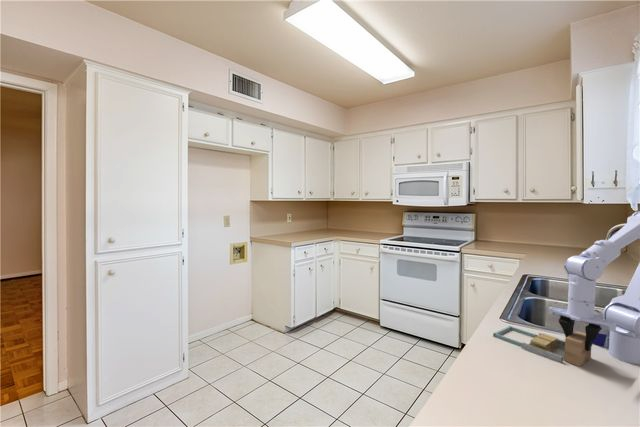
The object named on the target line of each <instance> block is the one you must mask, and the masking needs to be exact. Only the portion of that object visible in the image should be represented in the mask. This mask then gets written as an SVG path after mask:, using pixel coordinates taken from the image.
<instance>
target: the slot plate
mask: <svg viewBox="0 0 640 427" xmlns="http://www.w3.org/2000/svg"><path fill="white" fill-rule="evenodd" d="M541 334H542V333H541V332H540V333H538V336H539V335H541ZM521 343H522V345H521V346H520V347H521V349H523V350H526V351H528V352H530V353H533V354H536V355H538V356H542V357H544V358H547V359H549V360H551V361H555V362H558V363H560V364H562V363H563V362H565V361H564V357H565V340H563V339H560V338H558V344H557V347H555V348H554V349H551V351H546V350H543V349H541V348H538V347H535V346H532V345H530V342H529V343H526V342H521Z"/></svg>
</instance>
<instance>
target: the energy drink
mask: <svg viewBox="0 0 640 427" xmlns="http://www.w3.org/2000/svg"><path fill="white" fill-rule="evenodd" d="M603 310H604V308H601V307H595V308H594V316H596V317H599V318H602V319H603ZM609 337H610V330H609V329H605V328H602V329H601V330H600V332H599V333H598V334H597V336H596V338H595V339H594V341H593V344H592V345H594V346H597V347H602V348H609Z"/></svg>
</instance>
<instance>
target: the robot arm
mask: <svg viewBox="0 0 640 427" xmlns="http://www.w3.org/2000/svg"><path fill="white" fill-rule="evenodd" d="M638 239H639V240H640V210H639V211H635V212H634V213H632V215H630V216H627V219H626V224H625V225H623V227H621V228H619V230H618V231H617V232H615V233H614V234H613V235H612V236H611V237H609V239H607V240H606V239H600V240H596V241H595V242H593V243H594V244H593V245H591V246H590V247H588V248H587V249H586V250H584V251H582V252H581V253H580V254H578V255H572V256H570V257H568V258H567V259H566V261H565V264H563V269H564V272H565V273H566V279H567V280H568V289H567V290H568V294H567V309H565V308H559V307H554V306H550V307H548V313H547V314H548V315H551V316H557V317H559V319H558V323H559V324H560V327H561V328H562V330H563V334H564V335H565V338H566V337H568V336H569V335H571V334H573V333H574V328H575V321H576V322H580V323H583V324H587V325H586V326H584V327H585V328H584V330H585V334H586V344H585V350H586V351H590V350H591V351H592V347H593V345H594V344H593V341H594V339H595V338H596V336H597V334H598V333H599V332H600V330H601V329H602V328H605V329H609V330H610V337H609V347H608V354H609V356H611V357H612V358H614V359H616V360H619V361H621V362H625V363H629V364H635V365H640V262H639V263H638V265H637V267H636V269H635V271H634V273H633V275H632V278H631V280H630V281H629V284H628V286H627V288H626V290H625V292H624V294H622V295H619V296H616V297H612V299H611V300H610V303H609V304H607V305H606V306H605V307H604V308H603V309H604V310H603V319H602V318H599V317H596V316H594V308H596V307H595V306H596V305H595V304H596V286H597V279H599V278H601V277H602V275H603V273H604V270H605V269H606V268H607V266H608V265H609V264H610V263H612V262H613V261H615V260H616V259H617V258H619V257H620V256H621V255H622V253H621V252H622V251H621V249H623V248H625V247H627V246H628V245H630V244H631V243H632V242H635V241H637V240H638Z"/></svg>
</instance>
